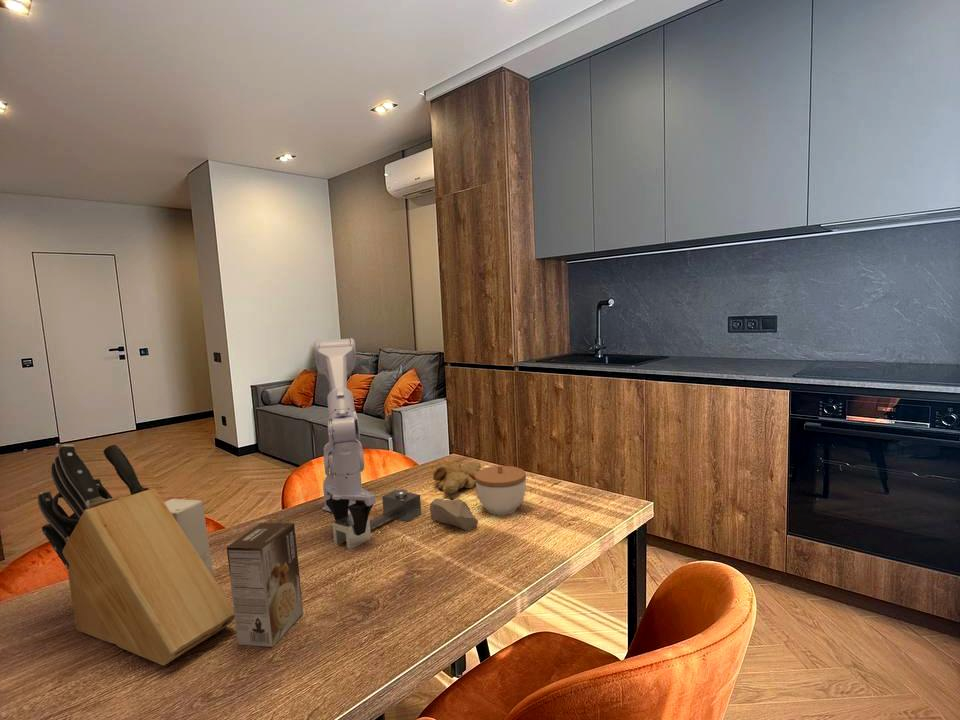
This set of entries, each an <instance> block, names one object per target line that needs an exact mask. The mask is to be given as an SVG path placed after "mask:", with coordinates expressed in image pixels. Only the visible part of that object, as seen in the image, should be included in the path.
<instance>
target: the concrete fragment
mask: <svg viewBox="0 0 960 720" xmlns="http://www.w3.org/2000/svg"><path fill="white" fill-rule="evenodd" d="M429 511H430V517H431V519H432V520H434V521H437V522H439V523H445V524H447V525H448V524H450V525H451V526H452V525H453V526H454V527H457V528H459V529H460V528H461V530H464V531H469V530H473V529H477V528H478V524H479V520H478V519H477V518H476V516H474V514H473V512H472V511H471V508H470V507H469V505H468V504H467V503H466V502H465V501H463V500H462V499H461V498H456V499H455V498H453V497H447V499H443V498H434V499H433V500H432V501H431V503H430V505H429Z"/></svg>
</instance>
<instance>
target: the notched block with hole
mask: <svg viewBox="0 0 960 720" xmlns="http://www.w3.org/2000/svg"><path fill="white" fill-rule="evenodd" d="M370 521H371V520H370V516H368V520H367V525H366V531H365V533H363V534H361V535H359V536H358V535H356V532H355V527H354V521H353V517H352V514H349V515H348V516H345V517H343V518H341V519H339V520H337V521H335V520H334V521H333V522H332V533H333V534H332V535H333V544H334V545H335V544H336V545H335V546H338V544H339V545H340V543H341V544H342V542H343V543H344V541H345V542H346V549H348V550H352V549H354V548H356V547H357V546H360V545H361V544H363V543H366V542H367V541H369V540H370V539H371V538H372V534H371V532H372V531H371V529H370Z"/></svg>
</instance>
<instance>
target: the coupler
mask: <svg viewBox="0 0 960 720" xmlns="http://www.w3.org/2000/svg"><path fill="white" fill-rule="evenodd" d="M381 498H382V511H383V514H382V515H379V516H378V517H376V518H374V519H372V520H370V530H372V529H374V528H376V527H378V526H380V525H383V524H384V523H386V522H387V521H389V520H392V519H395V520H398V521H403V522H407V523H408V522H410V521H412V520H414V519H416V518H418V517H419V516H421V515H422V505H421V504H422V503H421V494H417V493H413V492H409V491H408V490H407V489H403V488H402V489H401V488H400V489H394V490H393V491H391V492H389V493H386V494H384V495H382V497H381Z"/></svg>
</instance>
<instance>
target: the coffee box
mask: <svg viewBox="0 0 960 720" xmlns="http://www.w3.org/2000/svg"><path fill="white" fill-rule="evenodd" d="M226 554H227V563H228V570H229V571H228V572H229V579H230V588H231V589H230V590H231V597H232V607H233V608H234V615H235V618H234V621H235V631H236V632H235V633H236V640H237V644H238V645H240V646H253V647H266V648H267V647H269V648H272V647H275V645H277V643H278V642H279V641H280V640H281V639H282V638H283V636H285V634H286V633H287V632H288V630H289V629H291V628H292V626H293V625H294V624H295V623H296V622H297V621H298V620H299V618H300V617H301V615H303V614H304V608H303V598H302V597H303V596H302V589H301V588H302V586H301V577H300V568H299V567H300V566H299V558H298V549H297V537H296V528H295V523H294V522H260V523H258V524H257V525H256V526H254V527H253V528H252V529H251V530H249V531H247V532H246V533H245V534H243V535H242V536H240V537H239V538H238V539H236V540H235V541H233V542H232V543H230V544H229V545H227V546H226Z"/></svg>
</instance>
